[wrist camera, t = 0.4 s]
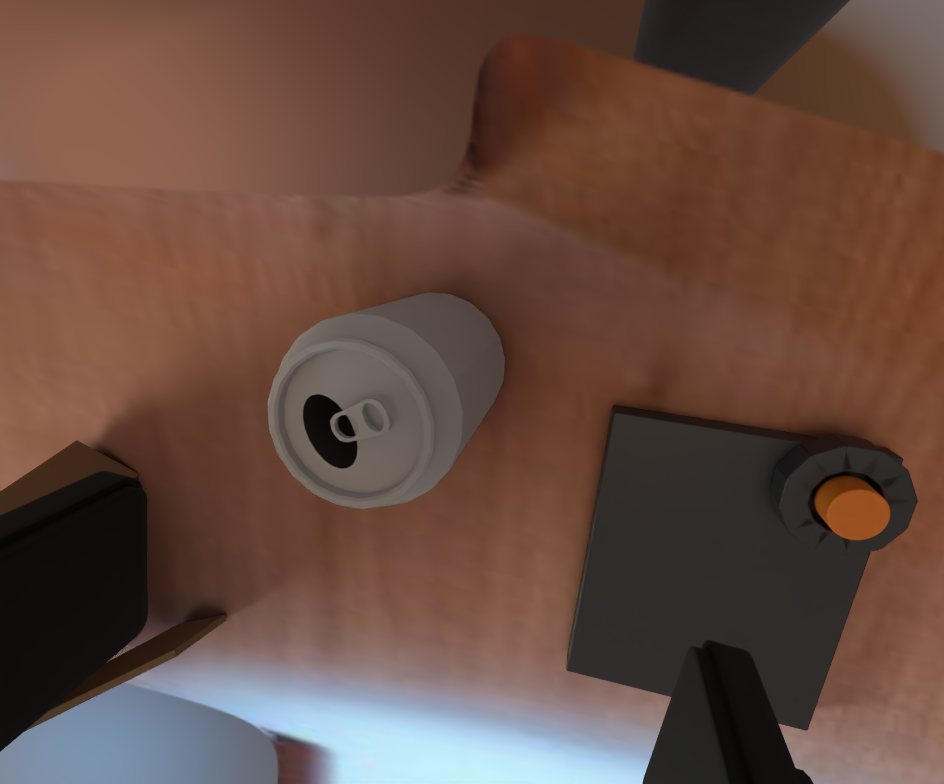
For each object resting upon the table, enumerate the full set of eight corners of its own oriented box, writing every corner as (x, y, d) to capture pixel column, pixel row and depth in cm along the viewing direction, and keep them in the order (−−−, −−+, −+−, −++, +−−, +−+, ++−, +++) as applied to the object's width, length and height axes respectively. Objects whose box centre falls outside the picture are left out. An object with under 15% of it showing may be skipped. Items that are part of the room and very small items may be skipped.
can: (355, 322, 30) (211, 367, 19) (474, 267, 28) (392, 282, 17) (410, 441, 31) (305, 550, 20) (529, 398, 29) (486, 494, 18)
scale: (615, 392, 28) (617, 409, 25) (896, 435, 26) (933, 459, 23) (567, 654, 33) (564, 692, 30) (801, 711, 30) (822, 759, 28)
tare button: (821, 470, 24) (835, 484, 23) (880, 480, 24) (899, 495, 22) (807, 517, 25) (820, 534, 24) (864, 528, 25) (881, 546, 23)
